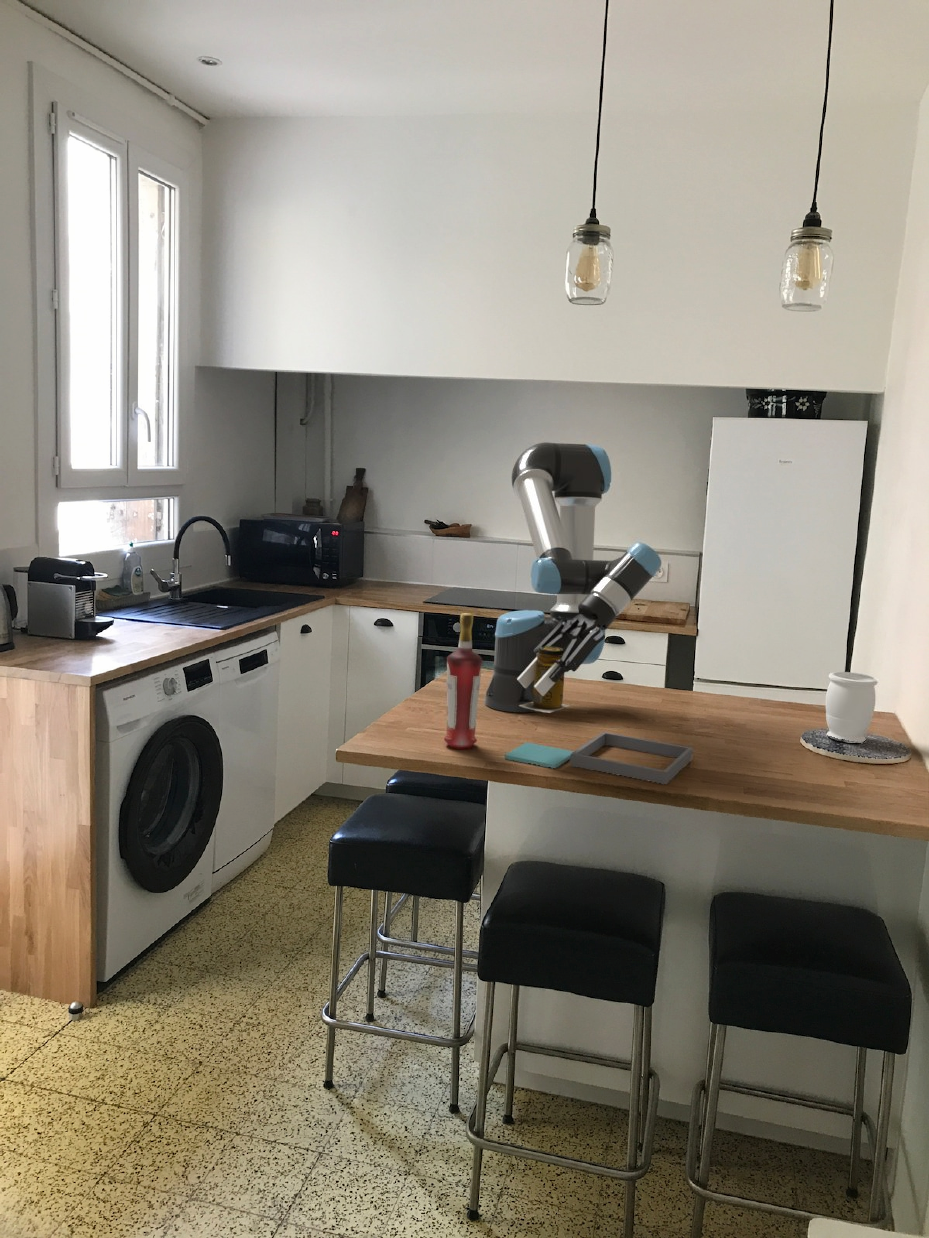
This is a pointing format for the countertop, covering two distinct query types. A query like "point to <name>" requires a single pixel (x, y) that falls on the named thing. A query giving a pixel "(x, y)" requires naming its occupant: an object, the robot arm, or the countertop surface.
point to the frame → (645, 773)
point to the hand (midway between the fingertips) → (530, 687)
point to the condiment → (555, 693)
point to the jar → (850, 705)
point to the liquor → (463, 689)
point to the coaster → (539, 755)
